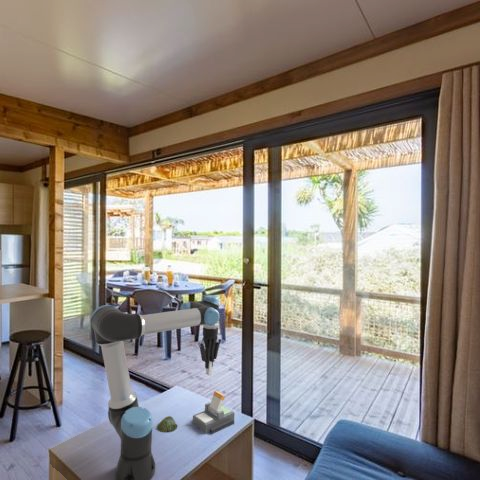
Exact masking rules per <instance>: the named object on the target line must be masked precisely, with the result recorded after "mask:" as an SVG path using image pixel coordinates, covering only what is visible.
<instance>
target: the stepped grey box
mask: <svg viewBox="0 0 480 480" xmlns="http://www.w3.org/2000/svg"><path fill="white" fill-rule="evenodd" d="M210 404H211V401H210V402H207V403H205V404H204V410H203V411H201V412H198V413H196V414H193V415H192V424H193V425H194V426H196V427H197V428H198V429H199V430H200V431H202V432H203V433H204V434H208V433H210V428H212V427H215V426H217V425H219V424H221V423H223V422H225V421H228V420H230V419H233V420H234V421H235V412H234V411H233V410H231V409H230V408H228V407H226V405H223V404H222V406H221V409H220V411H219V412H217V415H216V414H214V413H213V412H212V411H210V410H209V409H208V406H209V405H210Z"/></svg>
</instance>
